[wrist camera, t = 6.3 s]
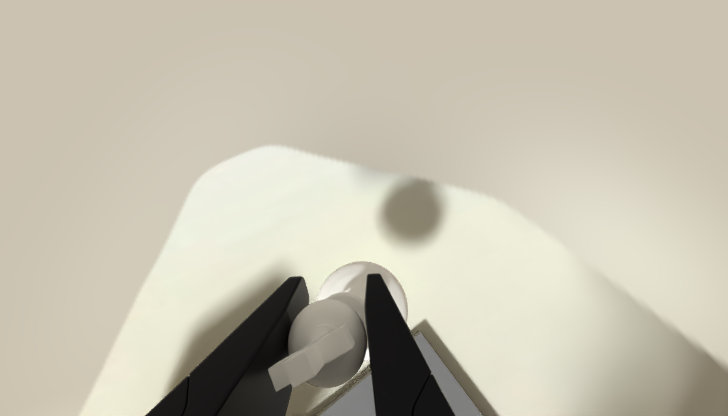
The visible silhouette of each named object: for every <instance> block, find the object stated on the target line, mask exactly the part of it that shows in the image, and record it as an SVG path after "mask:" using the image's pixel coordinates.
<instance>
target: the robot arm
mask: <svg viewBox="0 0 728 416" xmlns="http://www.w3.org/2000/svg"><path fill="white" fill-rule="evenodd" d="M308 305H309V294H308V290H307V287H306V283H305V280H304V278H303V277H302V276H295V277H289V278H288V279H287V280H286V281H285V282H284V283H283V284H282V285H281V286H280V287H279V288H278V289H277V290H276V291H275V292H274V293H272V294H271V295H270V296H269V297H268V298H267V299H266V300H265V301H264V302H263V303H262V304H261V305H260V306H259V307H258V308H257V309H256V310H255V311H254V312H253V313H252V314H251V315H250V316H249V317H248V318H247V319H246V320H245V321H244V322H243V323H241V324H240V325H239V326H238V327H237V328H236V329H235V330H234V331H233V332H232V333H231V334H230V335H229V336H228V337H227V338H226V339H225V340H224V341H223V342H222V343H221V344H220V345H219V346H218V347H217V348H216V349H215V350H214V351H213V352H212V353H210V354H209V355H208V356H207V357H206V358H205V359H204V360H203V361H202V362H201V363H200V364H199V365H198V366H197V367H196V368H195V369H194V370H193V371H192V372H191V373H190V376H187V377H186V378H184V379H183V380H182V381H181V382H180V383H179V384H178V385H177V386H176V387H175V388H174V389H173V390H172V391H171V392H170V393H169V394H168V395H167V396H166V397H165V398H164V399H162V400H161V401H160V402H159V403H158V404H157V405H156V406H155V407H154V408H153V409H152V410H151V411H150V412H149V413H147V414H146V415H145V416H285V414H286V410H287V406H288V402H289V399H290V395H291V391H292V385H291V384H289V385H287V386H286V387H284V388H282V389H280V390H279V391H277V392H276V390H275V388H274V385H273V382H272V379H271V377H270V374H269V371H268V369H269V368H270V367H272V366H273V365H275V364H276V363H277V362H279V361H281V360H283V359H284V358H286V357H288V356H289V352H288V337H289V332H290V329H291V326H292V324H293V322H294V320H295V318H296V317H297V315H298V314H299V313H300V312H301V311H302V310H303V309H304V308H305V307H307V306H308ZM364 311H365V321H366V331H367V340H368V349H369V358H370V368H371V377H372V386H373V395H374V405H375V414H376V416H456V415H455V413H454V411H453V410H452V408H451V406H450V404H449V402H448V401H447V399H446V397H445V395H444V394H443V392H442V390H441V388H440V386H439V384H438V382H437V380H436V379H435V377H434V375H433V374H432V371H431V369H430V367H429V365H428V364H427V362H426V360H425V358H424V356H423V354H422V352H421V350H420V348H419V346H418V344H417V343H416V341H415V339H414V337H413V335H412V333H411V331H410V329H409V327H408V325H407V323H406V322H405V320H404V318H403V316H402V314H401V312H400V310H399V308H398V306H397V304H396V302H395V300H394V299H393V297H392V295H391V293H390V291H389V289H388V287H387V285H386V283H385V281H384V279H383V278H382V276H381V274H380V273H369V274H367V278H366V290H365V301H364Z"/></svg>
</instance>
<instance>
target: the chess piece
mask: <svg viewBox="0 0 728 416" xmlns="http://www.w3.org/2000/svg"><path fill="white" fill-rule="evenodd" d="M369 273H380V274H381V276H382V278H383V279H384V281H385V283H386V285H387V287H388V289H389V291H390V293H391V295H392V297H393V299H394V300H395V302H396V304H397V306H398V308H399V310H400V312H401V314H402V316H403V318H404V320H405V322H407V316H408V305H407V299H406V295H405V292H404V290H403V288H402V286H401V284H400V283H399V281H398V280H397V278H396V277H395V276H394V275H393V274H392V273H391V272H390V271H388V270H387V269H385V268H384V267H382V266H380V265H378V264H375V263H371V262H363V261H361V262H353V263H349V264H346V265H344V266H342V267H340V268H338V269H337V270H336V271H334V272H333V273H332V274H331V275H330V276H329V277H328V278H327V279H326V280H325V282H324V283H323V285H322V286H321V288H320V291H319V293H318V296H317V300H316V302H314V303H311V304H310V305H308V306H307V307H305V308H304V309H303V310H302V311H301V312H300V313H299V314H298V315H297V317H296V318H295V320H294V322H293V324H292V326H291V329H290V332H289V337H288V352H289V356H288V357H286V358H284V359H283V360H281V361H279V362H277V363H276V364H275V365H273V366H272V367H270V368H269V369H268V371H269V374H270V377H271V379H272V382H273V385H274V388H275V390H276V392H277V391H279V390H280V389H282V388H284V387H286V386H287V385H289V384H291V385H292V387H293V388H295V387H297V386H299V385H300V384H302V383H304V382H308V383H310V384H312V385H314V386H317V387H323V388H331V387H336V386H339V385H342V384H344V383H345V382H347V381H348V380H350V379H351V378H352V377H353V376H354V375H355V374H356V373H357V372H358V370H359V369H360V367H361V365H362V363H363V361H365V360H370V358H369V349H368V340H367V331H366V321H365V311H364V301H365V290H366V278H367V274H369Z"/></svg>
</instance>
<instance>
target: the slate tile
mask: <svg viewBox="0 0 728 416" xmlns="http://www.w3.org/2000/svg"><path fill="white" fill-rule="evenodd" d="M413 337H414V339H415V341H416V343H417V344H418V346H419V348H420V350H421V352H422V354H423V356H424V358H425V360H426V362H427V364H428V365H429V367H430V369H431V371H432V374H433V375H434V377H435V379H436V380H437V382H438V384H439V386H440V388H441V390H442V392H443V394H444V395H445V397H446V399H447V401H448V402H449V404H450V406H451V408H452V410H453V411H454V413H455V415H456V416H483V415H482V414H481V412H480V411H479V410H478V408H477V407H476V406H475V404H474V403H473V402H472V400H471V399H470V397H469V396H468V395H467V393H466V392H465V391H464V389H463V388H462V387H461V385H460V384H459V383H458V381H457V380H456V379H455V377H454V376H453V375H452V373H451V372H450V371H449V369H448V368H447V367H446V365H445V364H444V363H443V361H442V360H441V359H440V357H439V356H438V355H437V353H436V352H435V351H434V349H433V348H432V346H431V345H430V344H429V342H428V341H427V340H426V338H425V337H424V336H423V334H422V333H421V332H420V331H419V332H417V333H416V334H415V335H414V336H413ZM316 416H376V414H375V405H374V395H373V386H372V377H371V371H369V372H368V373H367V374H366V375H365V376H363V377H362V378H361V379H360V380H358V381H357V382H356V383H355V384H354V385H352V386H351V387H350V388H349V389H347V390H346V391H345V392H344V393H343V394H341V395H340V396H339V397H338V398H336V399H335V400H334V401H333V402H331V403H330V404H329V405H328V406H327V407H325V408H324V409H323V410H322V411H320V412H319V413H318V414H317V415H316Z"/></svg>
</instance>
